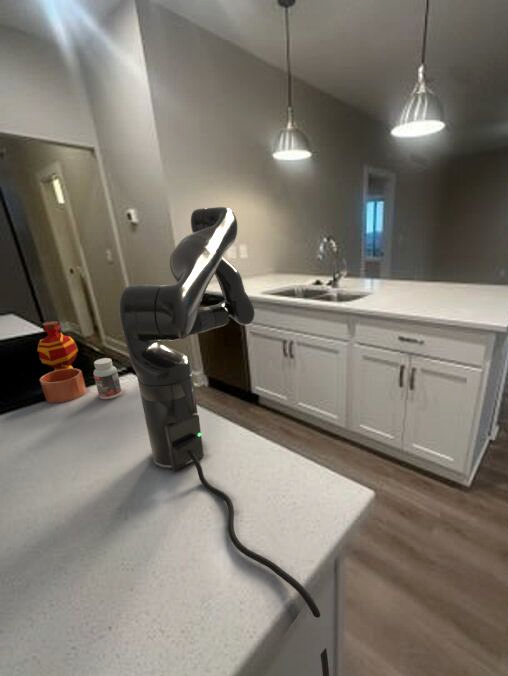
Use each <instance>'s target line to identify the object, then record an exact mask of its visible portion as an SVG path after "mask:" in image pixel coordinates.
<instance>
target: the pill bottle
mask: <svg viewBox="0 0 508 676" xmlns="http://www.w3.org/2000/svg"><path fill="white" fill-rule="evenodd" d="M93 365H94V368H95V369H94V370H93V378H94V381H95V385H96V389H97V393H98V397H99V398H100V399H102V400H109V399H113V398H116V397H119V396H120V395H121V394H122V386H121V382H120V377H119V373H118V369H117V367H116V366H114V364H113V361H112V358H110V357H109V358H108V357H104V358H98V359H96V360H95V361H93Z"/></svg>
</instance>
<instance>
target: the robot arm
mask: <svg viewBox="0 0 508 676" xmlns="http://www.w3.org/2000/svg"><path fill="white" fill-rule="evenodd" d="M190 227H191V232H192V233H190V234H188V235H186V236H185V237H183V238H182V239H181V240H180V242H178V243H177V245H176V247H174V249H173V251H172V252H171V254H170V258H169V268H170V272H171V274H172V277H173V278H174V280H175V281H176V283H172V284H131V285H128V286H126V287H125V288H124V289H123V290H122V292H121V294H120V296H119V301H118V315H119V322H120V327H121V330H122V334H123V338H124V342H125V345H126V349H127V353H128V357H129V361H130V364H131V367H132V369H133V370H134V372H135V374H136V378H137V383H138V388H139V393H140V399H141V404H142V410H143V414H144V415H143V416H144V419H145V424H146V430H147V434H148V440H149V444H150V449H151V450H150V451H151V457H152V461H153V464H154V465H156V466H157V467H159V468H161V469H168V470H169V469H170V470H173V471H174V472H176V471H179V470H180V469H183V468H185V467H186V466H188V465H190V464H192V463H193V464H194V466H195V468H196V471H197V475H198V479H199V481H200V483H201V484H202V485H203V486H204V487H205V488H206V489H207V490H208V491H209V492H211V493H213V494H215V495H217V496H218V497H220V498H222V500H223V501H224V502H225V503H226V506H227V509H228V521H227V524H228V525H227V527H228V529H227V530H228V535H229V538H230V540H231V543H232V544H233V546H234V547H235V548H236V549H237V550H238V551H239V552H240V553H242V554H243V555H244V556H246V557H248V558H249V559H251V560H253V561H255V562H257V563H260V564H262V565H264V566H265V567H267V568H268V569H270V570H271V571H272V572H273V573H275V574H276V575H277V576H279V578H281V579H282V580H283V581H285V582H286V583H287V584H288V585H290V586H291V587H292V588H293V589H294V590H295V591H296V592H298V594H299V595H300V597H301V598H302V599H303V600H304V601H305V603H306V605H307V606H308V608H309V610H310V612H311V614H312V616H313V617H315V618H317V619H319V618H320V617H321V612H320V610H319V607H318V605H317V604H316V602H315V601H314V599H313V598H312V595H310V593H309V592H308V591H307V588H305V587H304V586H303V585H302V584H301V583H300V582H299V581H298V580H296V579H295V578H294V577H293V576H291V575H290V574H289V573H288V572H286V571H284V570H283V569H282V568H281V567H280V566H279V565H277V564H276V563H274V562H273V561H272V560H270V559H268V558H266V557H264V556H262V555H260V554H258V553H256V552H254V551H252V550H251V549H249V548H247V547H246V546H245V545H243V543H241V541H240V540H239V539H238V537H237V535H236V532H235V525H234V524H235V509H234V505H233V502H232V500H231V498H230V497H229V495H228V494H227V493H225V492H224V491H223V490H220V489H218V488H216V487H214V486H213V485H212V484H210V483H209V482H208V481H207V479H206V478H205V475H204V472H203V468H202V465H201V462H200V461H199V460H200V459H201V458H203V457H205V453H204V446H203V445H204V444H203V437H202V430H201V423H200V415H199V414H198V407H197V399H196V392H195V391H196V390H195V384H194V383H195V382H194V375H193V368H192V362H191V359H190V357H189V356H188V355H187V354H186V353H183V352H181V351H179V350H177V349H173V348H171V347H170V346H168V345H167V344H165V343H164V342H165V341H166V342H167V341H171V342H172V341H173V342H175V341H180V340H184V339H185V338H187V337H190V336H193V335H197V334H198V335H199V334H202V333H205V332H208V331H211V330H215V329H218V328H221V327H225V326H226V325H228V324H229V321H230V318H231V319H232V320H234V321H235V322H236V323H238V324H239V325H241V326H249V324H251V323H252V322H253V321H254V318H255V315H256V311H255V307H254V304H252V301H251V299H250V298H249V296H248V294H247V292H246V290H245V286H244V283H243V279H242V276H241V273H240V272H239V271H238V270H237V268H236V267H235V266H234V264H232V263H231V262H230V261H229V260H227V259H226V258H225V257H224V255H225V254H226V253H227V252H228V250H229V249H230V248H231V247H232V245H233V244H235V241H236V238H237V235H238V219H237V217H236V215H235V213H234V212H233V211H232V210H231V208H228V207H224V206H216V207H215V206H214V207H205V208H203V207H202V208H197V209H194V210H193V211H192V213H191V215H190ZM214 276H215V278H216V281H217V282H218V285H219V288H220V292H221V293H222V296H223V298H224V300H223V301H221V302H219V303H218V304H214V305H208V306H202V307H201V304H202V301H203V297H204V295H205V293H206V291H207V289H208V287H209V285H210V283H211V281H212V279H213V278H214ZM320 663H321V672H322V676H330V669H329V659H328V651H327V647H324V650H322V651H321V653H320Z"/></svg>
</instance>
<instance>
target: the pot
mask: <svg viewBox="0 0 508 676" xmlns="http://www.w3.org/2000/svg"><path fill="white" fill-rule="evenodd" d="M39 384H40V386H41V390H42V393H43V396H44V399H45V401H46V402H49V403H64V402H69V401H72V400H75V399H78V398H81V397H82V396H83V395H84V394H86V392H87V386H86V382H85V379H84V374H83V371H82V370H81V369H80V368H75V367H73V368H69V369H61V370H56V371H54V370H53V371H50V372H48V373H46V374H44V375H42V376H41V377H40V378H39Z"/></svg>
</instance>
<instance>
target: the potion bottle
mask: <svg viewBox="0 0 508 676" xmlns="http://www.w3.org/2000/svg"><path fill="white" fill-rule="evenodd" d="M41 325H42V327H43V328H42V330H43V332H44V333H47V336H45V337H43V338H42V339H39V342H38V345H37V351H36V352H38V357H39V360H40V361H41V363H42V364H44V365H47V366H48V367H51V368H53V371H56V370H61V369H69V368H74V367H73V366H72V364H73V363H74V361H75V360H76V358H77V356H78V352H79V348H78V346H77V344H76V341H75V340H74V339H73V338H72V337H71V336H70V335H65V334H63V333H62V332H59V331H60V330H61V326H60V325H59V321H55V320H52V321H46V322H43V323H42V324H41Z"/></svg>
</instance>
